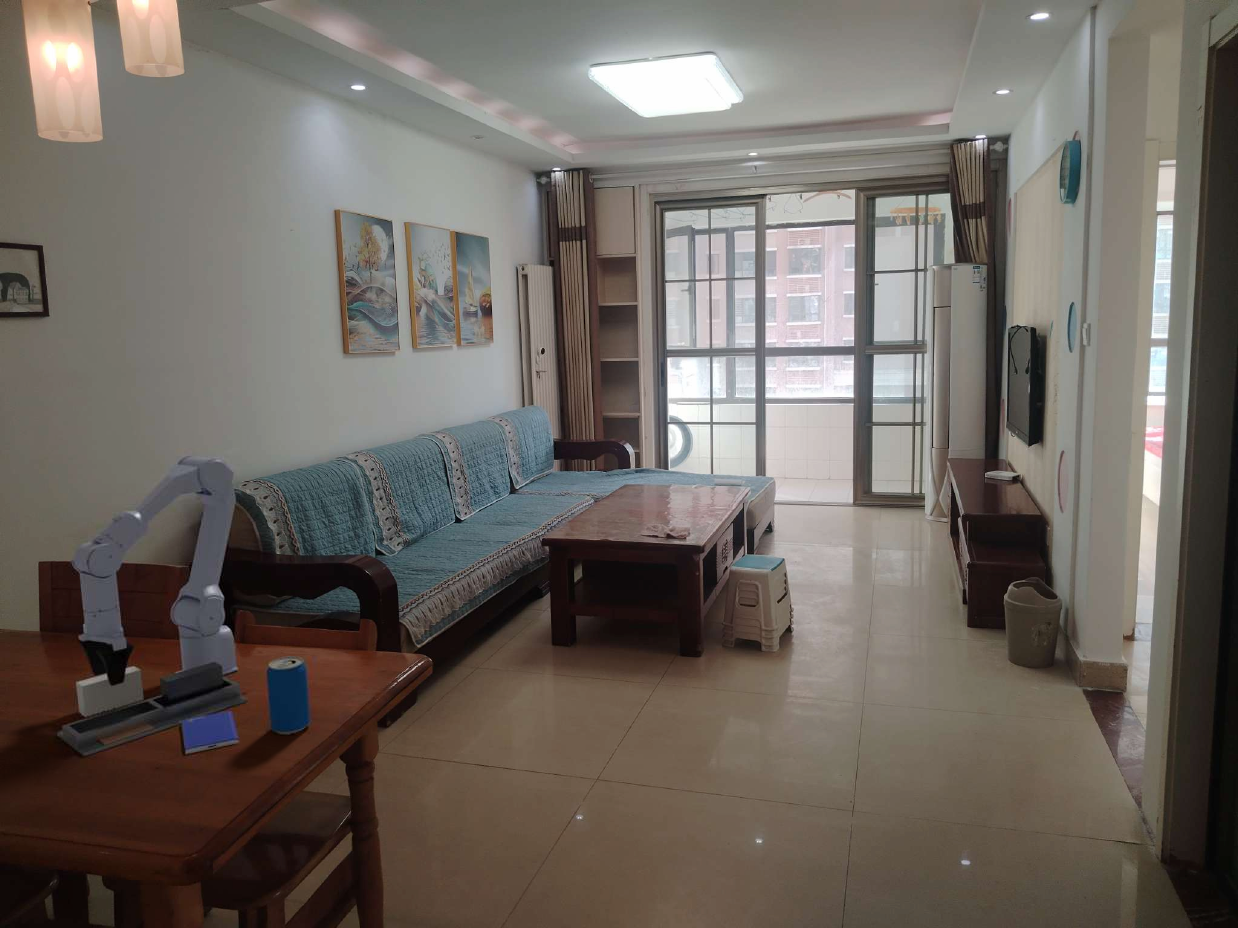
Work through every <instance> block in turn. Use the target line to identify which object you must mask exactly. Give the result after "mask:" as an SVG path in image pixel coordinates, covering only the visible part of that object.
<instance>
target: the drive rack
mask: <svg viewBox="0 0 1238 928" xmlns="http://www.w3.org/2000/svg"><path fill="white" fill-rule="evenodd" d="M180 671H181V672H178V671H177V672H178V673H171V674H168V675H165V676H162V677H161V676H160V677H159V683H160V691H161V693H160V694H161V695H157V696H154V697H151V698H147V699H145V700H141V701H137V702H134V703H131V704H128V705H124V706H121V707H118V708H115V709H111V710H108V711H105V712H102V713H99V714H95V715H92V716H89V717H85V718H83V719H79V720H76V721H73V722H70V723H68V724H64V725H61V729H62V730H61V731H57V737H59V738H60V739H62V741H64V742H65V743H67V745H69V746H70V747H72V748H73V749H74V750H75V751H77V752H78V753H79V754H81V755H82V756H83V757H87V756H90V755H94V754H96V753H98V752H101V751H104V750H108V749H110V748H114V747H117V746H120V745H123V744H125V743H128V742H131V741H134V740H137V739H140V738H142V737H147V736H149V735H152V734H155V733H157V732H162V731H164V730H167V729H169V728H174V727H175V726H179V725H182V721H183V720H185V719H191V718H196V717H200V716H206V715H211V714H215V713H217V712H220V711H222V710H223V711H224V710H226V709H229V708H233V707H234V706H238V705H240V704H244V703H247V702H248V701H249V700H248V699H249V698H248V697H246V696H244V695H242V694H241V686H240V683H237V682H235V681H233V680H231V679H229V678H228V677H225V676H224V675H223V673H222V665H220V664H218V663H216V662H212V663H208V664H205V665H202V666H198V667H195V668H191V669H188V670H185V671H182V670H180Z"/></svg>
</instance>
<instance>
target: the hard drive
mask: <svg viewBox="0 0 1238 928" xmlns="http://www.w3.org/2000/svg"><path fill="white" fill-rule="evenodd" d="M181 731H182V737H183V743H184V745H183V746H184V751H185V755H189V754H192V753H199V752H202V751H206V750H212V749H215V748H220V747H221V748H222V747H225V746H230V745H236V744H240V740H239V735H238V732H237V727H236V724H235V719H234V715H233V712H232V711H231V710H227V711H226V710H225V711H221V712H218V713H217V712H215V713H211V714H208V715H206V716H200V717H196V718H191V719H185V720H183V721H182V724H181Z"/></svg>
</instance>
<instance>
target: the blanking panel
mask: <svg viewBox="0 0 1238 928" xmlns="http://www.w3.org/2000/svg"><path fill="white" fill-rule="evenodd" d="M75 685H76V694H77V702H78V704H77V705H78V713H79V714H80V713H81V714H80V715H81V716H83V717H84V716H85V718H88V717H87V716H89V717H92V716H94V715H93V714H95V715H98V714H97V713H99V714H102V713H104V712H103V711H105V712H108V711H112V710H114V709H113V708H115V709H118V708H121V707H125V706H128V705H131V704H134V703H138V702H141V701H144V691H143V682H142V672H141V669H140V668H138V667H136V666H134V665H133V666H129V667H126V672H125V678H124V682H123V683H120V684H117V685H113V686H111V685H110V683H109V681H108V677H107V673H104V674H100V675H96V676H94V677H90V678H87V679H82V680H79V681H76V682H75ZM107 710H108V711H107ZM101 712H102V713H101ZM91 715H92V716H91Z"/></svg>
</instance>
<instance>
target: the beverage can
mask: <svg viewBox="0 0 1238 928" xmlns="http://www.w3.org/2000/svg"><path fill="white" fill-rule="evenodd" d="M307 669H308V668H307V665H306V664H305V663H304V659H303V658H302V657H299V656H284V657H279V658H276V659H273V660H272V661H270V662H269V663H268V668H267V670H266V681H267V692H268V693H267V694H268V708H269V709H268V711H269V720H270V728H271V731H273V732H276V733H277V734H279V735H292V734H291V733H294V734H296V733H295V732H297V733H299V732H298V731H300V732H302V731H304V730H305V729H306V728H305V727H308V726H309V725H310V723H311V713H310V699H309V698H310V696H309V684H308V683H309V682H308V670H307ZM304 728H305V729H304ZM303 729H304V730H303ZM301 730H302V731H301Z"/></svg>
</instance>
